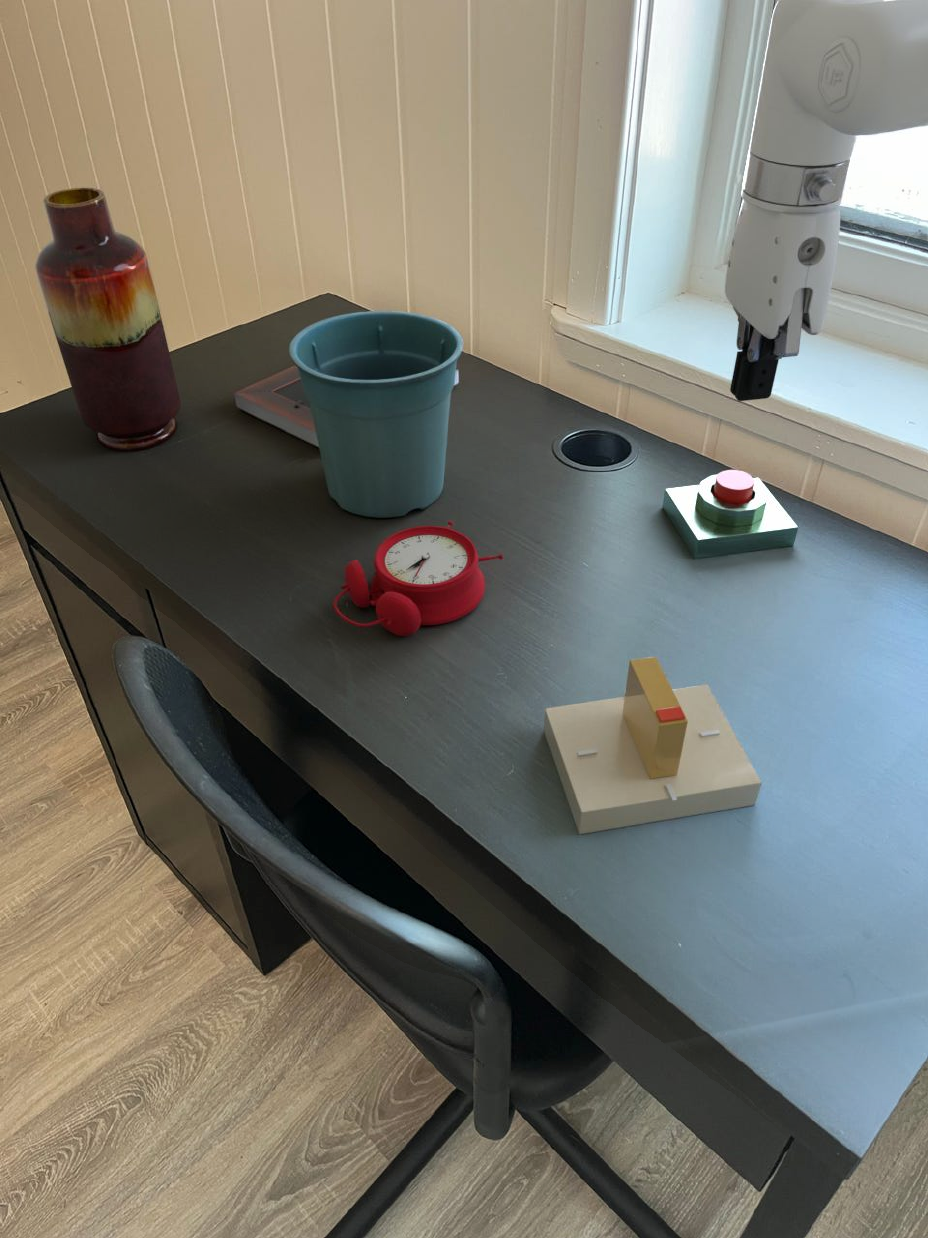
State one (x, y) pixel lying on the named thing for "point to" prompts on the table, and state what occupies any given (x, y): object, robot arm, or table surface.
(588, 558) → the table surface
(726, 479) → the button
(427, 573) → the alarm clock
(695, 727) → the dial base plate
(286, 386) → the picture frame
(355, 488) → the flower pot
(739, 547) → the button block
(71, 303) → the vase
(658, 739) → the tan block
